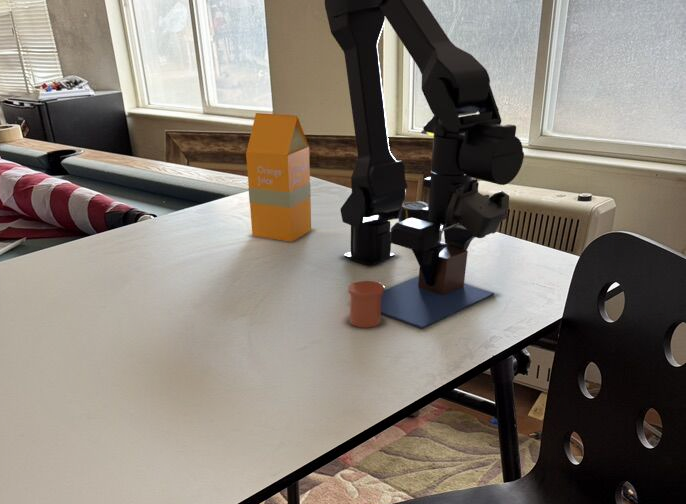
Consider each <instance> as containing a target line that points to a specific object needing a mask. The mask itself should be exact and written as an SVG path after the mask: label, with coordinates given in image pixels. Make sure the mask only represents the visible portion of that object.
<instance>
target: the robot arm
mask: <svg viewBox="0 0 686 504" xmlns="http://www.w3.org/2000/svg"><path fill="white" fill-rule="evenodd" d="M324 9H325V12H326V17H327V21H328V25H329V26H328V27H329V29H330V34H331V35H332V37H333V38H334V40H335V41H336V43H337V44H338V46H339V48H341V51H342V52H343V55H344V59H345V60H344V63H345V68H346V69H345V71H346V76H347V85H348V91H349V92H348V93H349V98H350V107H351V114H352V122H353V129H354V136H355V144H356V152H357V160H356V163H355V166H354V169H353V170H352V174H351V178H350V183H351V185H350V187H351V193H350V194H349V196H348V197H347V198H346V200H345V201H344V203H343V205H342V206H341V207H340V209H339V210H340V215H341V221H342V223H345V224H347V225H349V226H350V251H349V252H346V253H344V255H343V256H344V257H343V258H344V259H347V260H351V261H354V262H357V263H360V264H364V265H367V266H374V265H377V264H379V263H382V262H384V261H387V260H390V259H392V258H394V257H396V253H395V252H392V245H395V246H399V247H403V248H406V249H409V250H412V253H413V255H414V257H415V260H416V262H417V263H418V267H419V269H421V271H422V274H423V276H424V279H425V281H426V284H427V285H429V286H433V285H434V282H435V277H436V272H437V265H438V259H439V254H440V252H441V251H442V250H443V249H444V248H445V247H446V246H447V245H448V246H452V247H456V248H460V249H463V250H467V251H468V249H469V246H470V244H471V242H472V241H473V240H475V239H476V238H477V239H483V238H485V237H486V236H488V235H494V234H495V233H497V231H498V228H499V226H500V224H501V222H502V221H505V220H507V219H508V218H509V213H508V211H509V208H510V195H509V194H507V193H506V192H505V191H502V190H501V191H498V192H495V193H494V194H492V195H491V196H490V194H482V193H480V192H479V184H480V183H479V181H478V180H480V181H484V182H488V183H491V184H495V185H498V186H499V185H500V186H506V185H508V184H510V183H512V181H513V180H514V179H515V178H516V177H517V175H518V174H519V172H520V171H521V168H522V165H523V162H524V157H525V152H524V148H523V144H522V142H521V140H520V138H519V137H518V136H516V133H517V125H515V124H510V123H508V124H502V116H501V115H500V110H499V107H498V105H497V102H496V98H495V96H494V94H493V90H492V87H491V78H490V75H489V73H488V70H487V69H486V68H485V67H484V65H482V63H480V62H479V60H477V59H476V58H475V57H474V56H473V55H472V54H471V53H469V52H467V51H465V50H464V49H462V48H459V47H458V46H456V45H455V44H454V43H453V42H452V41H451V40H450V39H449V36H448V35H447V33H446V32H445V31H444V29H443V28H442V26H441V24H440V23H439V22H438V20H437V19H436V17H435V16H434V14H433V13H432V11H431V10H430V8H429V6H428V5H427V4H426V2H425V1H424V0H324ZM386 20H387V21H388V23H389V25H390V26H391V27H392V30H393V31H394V32H395V34H396V35H397V37H398V38H399V40H400V41H401V43H402V45H403V46H404V47H405V49H406V51H407V52H408V54H409V55H410V57H411V59H412V60H413V61H414V63H415V65H416V66H417V68H418V69H419V71H420V74H421V91H422V93H423V96H424V99H425V100H426V103H427V106H428V107H429V109H430V111H431V112H432V115H433V116H432V117H431V118H430V120H429V121H427V122H426V123H425V124H424V126H423V127H422V130H423V132H425V133H430V134H433V139H432V152H431V164H430V176H428V177H426V178H424V179H423V188H429V191H428V201H427V202H428V203H427V204H428V207H427V208H424V209H422V215H421V216H422V217H426V218H429V219H428V220H429V221H428V222H427V221H423V220H419V219H415V218H409V219H406V220H403V221H401V222H399V221H398V222H395V223H394V225H392V227H391V221H392V220H399V219H398V218H399V215H400V212H401V208H402V205H403V203H405V201H406V196H407V195H406V194H407V190H406V189H408V188H409V187H408V184H407V180H406V166H405V163H404V161H403V160H396V158H395V157H394V156H393V154H392V153H391V151H390V146H389V145H390V144H389V138H388V137H389V136H388V128H387V117H386V111H385V102H384V101H385V100H384V93H383V85H382V77H381V67H380V59H379V50H378V43H379V40H380V37H381V34H382V31H383V28H384V25H385V23H386V22H385V21H386ZM442 234H443V235H442ZM442 236H443V238H444V242H442Z"/></svg>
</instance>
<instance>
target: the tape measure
mask: <svg viewBox="0 0 686 504" xmlns="http://www.w3.org/2000/svg"><path fill="white" fill-rule="evenodd" d="M427 207H428V203H426V202H424V201H422V200H420V201H406V202H403V205H402V208H401V212H400V215H399V218H398V219H397V220H398V222H401V221H403V220H406V219H409V218H415V219H419V220H423V221H427V222H428V221H429V220H428V219H429V218H426V217H422V216H421V215H422V209H424V208H427Z"/></svg>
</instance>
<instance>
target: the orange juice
mask: <svg viewBox="0 0 686 504" xmlns="http://www.w3.org/2000/svg"><path fill="white" fill-rule="evenodd" d="M250 132H251V133H250V135H249V140H248V144H247V147H246V151H245V157H246V170H247V171H246V172H247V184H248V189H247V190H248V197H249V198H248V201H249V209H250V220H251V221H250V222H251V236H252V237H258V238H264V239H270V240H277V241H285V242H290V243H291V242H293V241H295V240H297V239H299V238H301V237H302V236H304V235H306V234H307V233H309V232H312V205H311V200H312V199H311V195H312V192H311V191H312V190H311V171H310V170H311V169H310V163H311V161H310V146H309V143H308V140H307V137H306V135H305V132H304V131H303V127H302V125H301V121H300V119H299V117H298V115H292V114H276V113H260V112H255V115H254V119H253V124H252V127H251V131H250Z"/></svg>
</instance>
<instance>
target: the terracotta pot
mask: <svg viewBox="0 0 686 504" xmlns="http://www.w3.org/2000/svg"><path fill="white" fill-rule="evenodd" d="M384 290H385V286H384V284H383V283H381V282H378V281H375V280H374V281H373V280H359V281H356V282H353V283H349V285H348V287H347V292H348V294H349V323H350V325H352V326H354V327H357V328H361V329H362V328H364V329H365V328H367V329H368V328H374V327H376V326H379V325H380V324H381V321H382V314H381V301H382V294H383V293H384Z"/></svg>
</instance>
